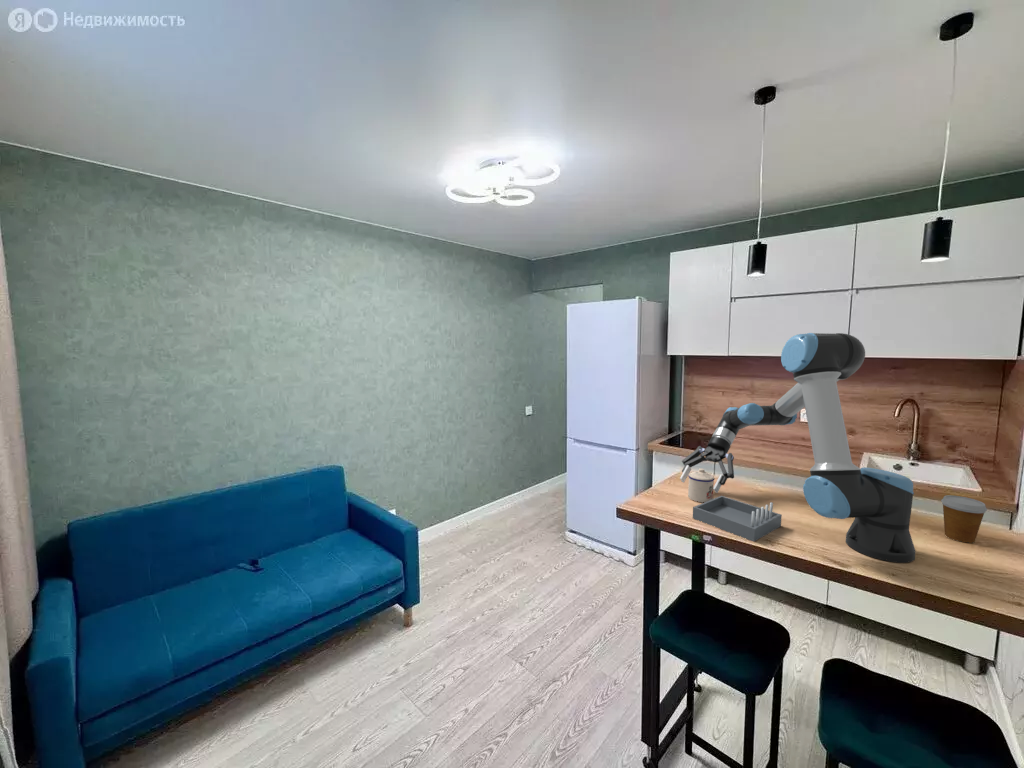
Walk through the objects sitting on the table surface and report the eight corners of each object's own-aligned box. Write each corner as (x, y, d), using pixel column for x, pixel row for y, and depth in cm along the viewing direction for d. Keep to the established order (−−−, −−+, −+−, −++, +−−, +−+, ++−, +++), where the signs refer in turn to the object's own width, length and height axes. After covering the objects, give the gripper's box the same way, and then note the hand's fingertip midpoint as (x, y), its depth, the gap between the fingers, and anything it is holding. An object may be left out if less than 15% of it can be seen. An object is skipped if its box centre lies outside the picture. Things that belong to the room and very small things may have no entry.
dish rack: (780, 526, 135) (782, 502, 135) (753, 541, 125) (755, 516, 124) (720, 506, 152) (721, 485, 151) (692, 518, 142) (693, 495, 141)
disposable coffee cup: (969, 547, 121) (974, 508, 120) (929, 533, 130) (933, 496, 129) (990, 543, 124) (996, 504, 123) (950, 529, 133) (954, 493, 132)
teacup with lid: (711, 505, 153) (713, 474, 152) (685, 500, 158) (686, 470, 156) (715, 494, 163) (717, 465, 162) (690, 490, 168) (691, 462, 166)
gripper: (756, 453, 157) (734, 501, 150) (695, 440, 177) (672, 481, 170) (750, 442, 153) (727, 489, 146) (688, 430, 174) (665, 471, 167)
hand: (697, 485), depth 158 cm, fingers open, 13 cm apart
